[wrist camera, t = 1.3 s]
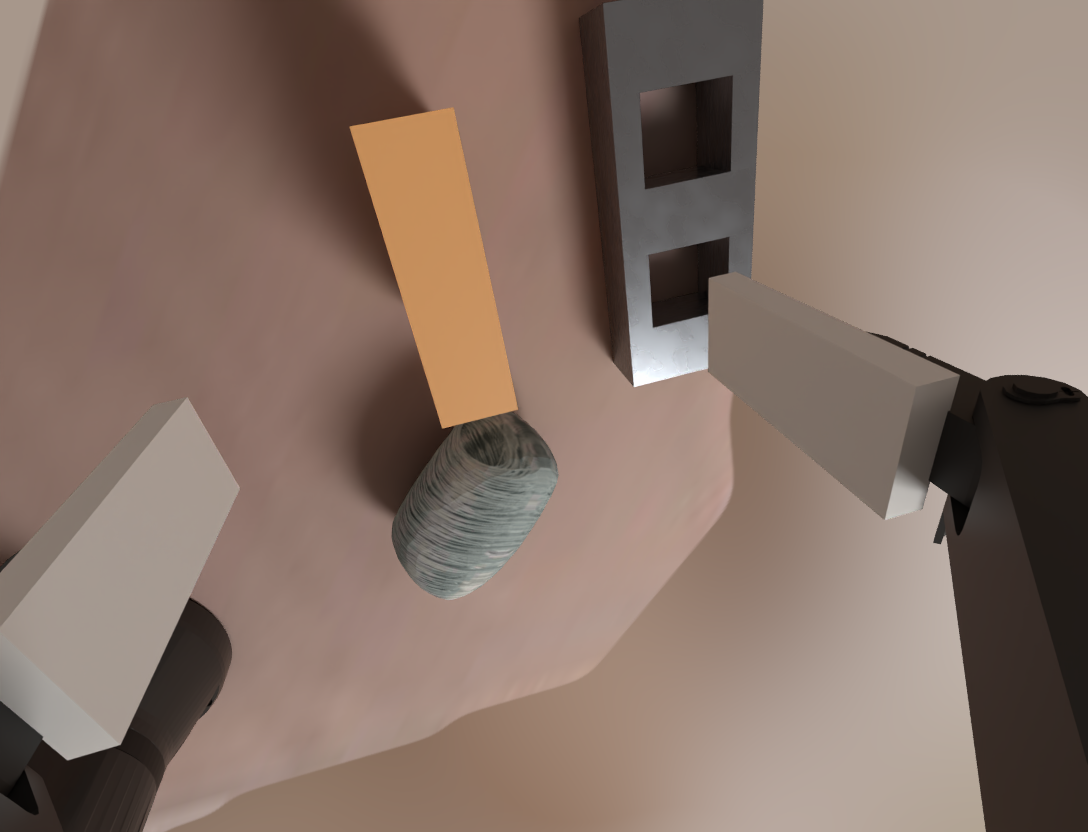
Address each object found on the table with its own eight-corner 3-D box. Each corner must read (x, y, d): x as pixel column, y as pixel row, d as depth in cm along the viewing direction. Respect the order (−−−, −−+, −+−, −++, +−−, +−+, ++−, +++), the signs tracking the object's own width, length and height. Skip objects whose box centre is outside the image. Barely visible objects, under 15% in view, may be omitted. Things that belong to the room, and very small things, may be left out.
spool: (456, 370, 32) (517, 516, 27) (553, 396, 39) (614, 516, 34) (342, 490, 38) (376, 626, 33) (444, 493, 45) (484, 605, 41)
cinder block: (613, 362, 38) (633, 387, 34) (579, 17, 27) (603, 3, 24) (717, 337, 38) (747, 358, 35) (721, -7, 28) (764, -24, 25)
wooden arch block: (432, 335, 34) (442, 428, 24) (371, 124, 28) (349, 126, 17) (485, 323, 34) (518, 409, 24) (437, 112, 28) (453, 107, 18)
